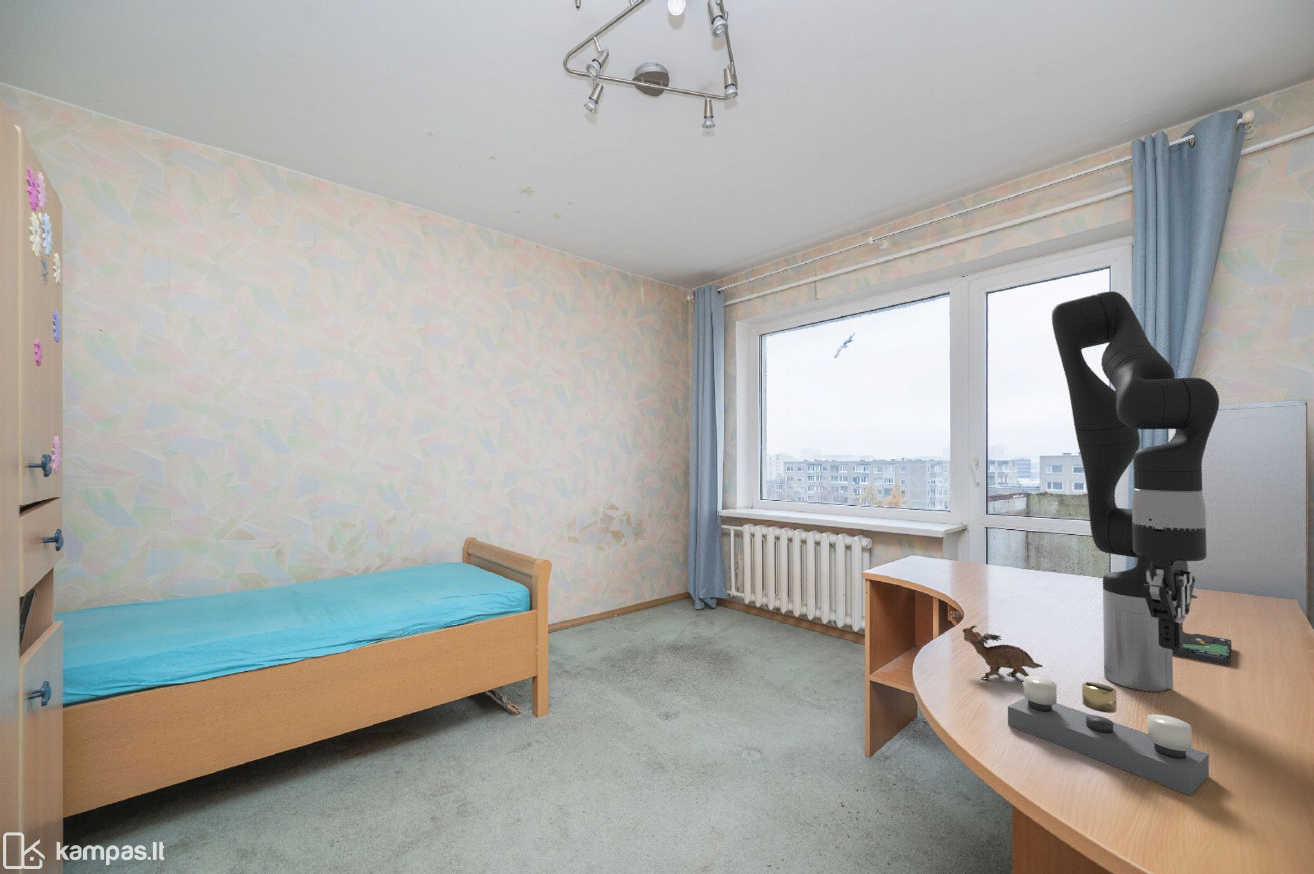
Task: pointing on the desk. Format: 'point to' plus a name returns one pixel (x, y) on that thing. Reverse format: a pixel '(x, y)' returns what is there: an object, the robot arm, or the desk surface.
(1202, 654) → the disk drive
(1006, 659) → the dinosaur figurine
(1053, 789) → the desk surface
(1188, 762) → the control strip
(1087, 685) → the brass dial
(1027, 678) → the cream knob
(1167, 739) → the cream knob
